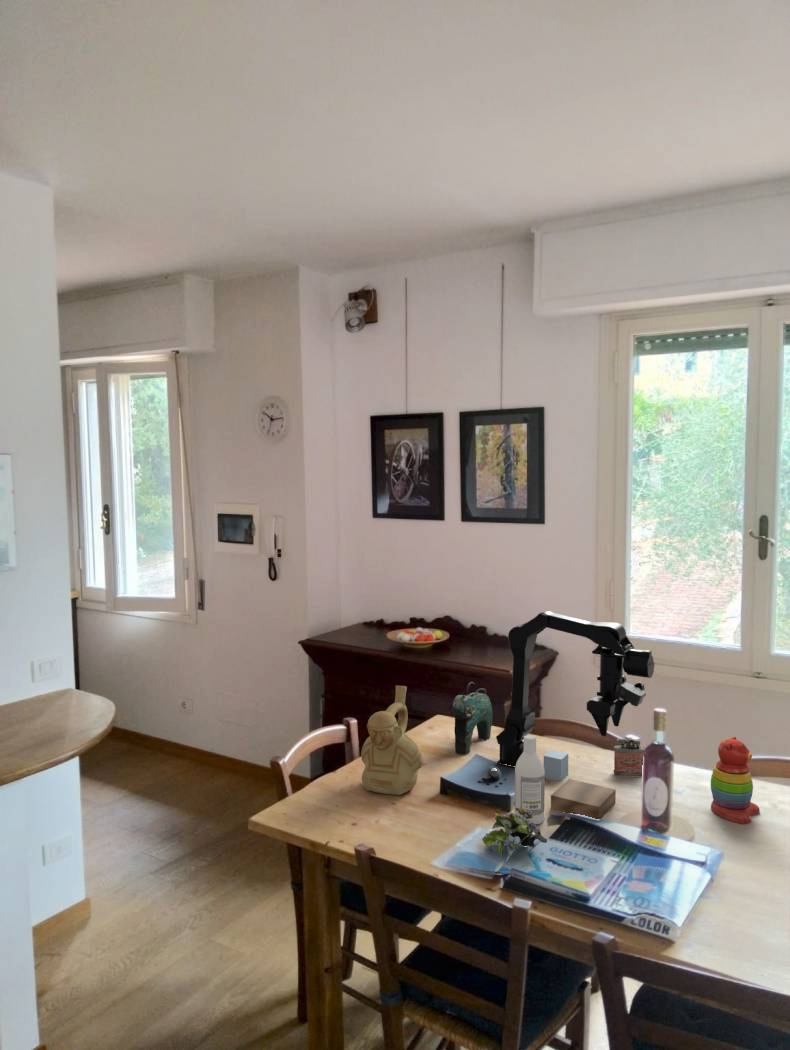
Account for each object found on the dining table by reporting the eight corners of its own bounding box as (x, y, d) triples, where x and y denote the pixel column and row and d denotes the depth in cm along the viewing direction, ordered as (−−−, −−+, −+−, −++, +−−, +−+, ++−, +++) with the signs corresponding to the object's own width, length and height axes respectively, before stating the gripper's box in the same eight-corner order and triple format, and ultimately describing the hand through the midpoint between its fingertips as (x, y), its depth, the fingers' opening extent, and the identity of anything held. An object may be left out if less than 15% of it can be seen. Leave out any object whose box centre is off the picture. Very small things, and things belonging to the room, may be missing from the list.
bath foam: (550, 822, 182) (551, 739, 180) (525, 828, 179) (526, 743, 177) (532, 810, 188) (533, 730, 186) (508, 816, 185) (509, 734, 183)
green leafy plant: (523, 871, 170) (557, 832, 168) (505, 885, 161) (541, 843, 158) (486, 831, 175) (518, 793, 173) (467, 842, 166) (501, 802, 163)
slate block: (543, 777, 208) (543, 755, 208) (550, 771, 213) (551, 750, 212) (560, 781, 206) (561, 759, 205) (568, 775, 210) (568, 753, 209)
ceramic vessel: (346, 795, 197) (346, 699, 195) (377, 768, 215) (376, 679, 213) (409, 806, 191) (408, 706, 189) (435, 777, 209) (435, 686, 207)
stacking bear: (746, 826, 179) (748, 751, 178) (702, 813, 186) (704, 740, 185) (761, 810, 187) (764, 739, 186) (719, 799, 194) (721, 729, 193)
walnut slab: (550, 811, 189) (550, 795, 188) (569, 793, 199) (569, 778, 198) (598, 823, 182) (598, 807, 182) (615, 805, 192) (615, 789, 192)
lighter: (642, 772, 211) (643, 736, 211) (645, 777, 208) (646, 741, 207) (612, 771, 212) (612, 735, 211) (614, 776, 209) (615, 740, 208)
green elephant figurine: (466, 758, 223) (466, 689, 221) (446, 753, 226) (446, 686, 225) (496, 738, 239) (496, 674, 238) (477, 734, 243) (477, 671, 241)
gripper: (630, 685, 188) (628, 747, 190) (653, 669, 204) (652, 727, 205) (586, 678, 195) (585, 738, 196) (612, 663, 210) (611, 719, 211)
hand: (610, 731), depth 202 cm, fingers open, 9 cm apart
